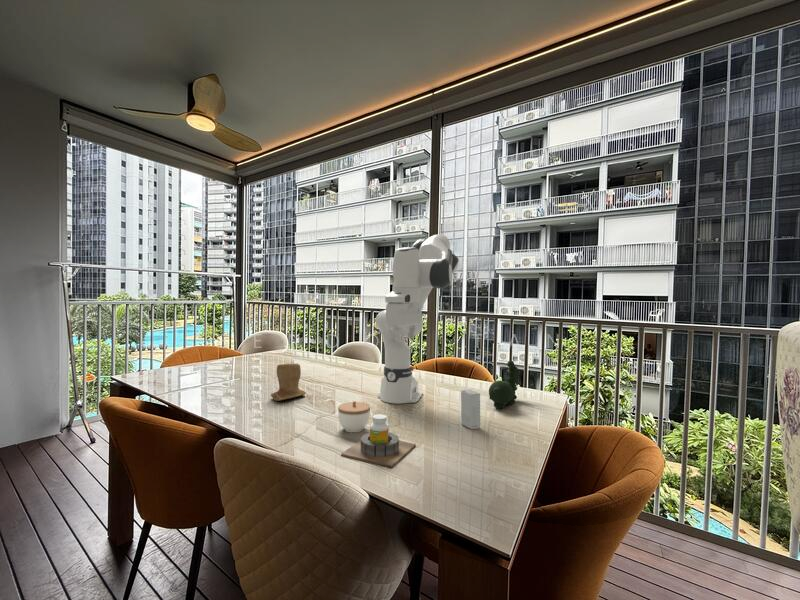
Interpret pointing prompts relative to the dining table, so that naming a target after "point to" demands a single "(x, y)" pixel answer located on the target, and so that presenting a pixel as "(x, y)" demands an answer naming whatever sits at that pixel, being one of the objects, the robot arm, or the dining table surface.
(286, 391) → the brown flared stand
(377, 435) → the supplement bottle
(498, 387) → the toy figurine
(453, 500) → the dining table surface
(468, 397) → the skincare box
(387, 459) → the grey ring on slab
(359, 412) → the lidded jar
